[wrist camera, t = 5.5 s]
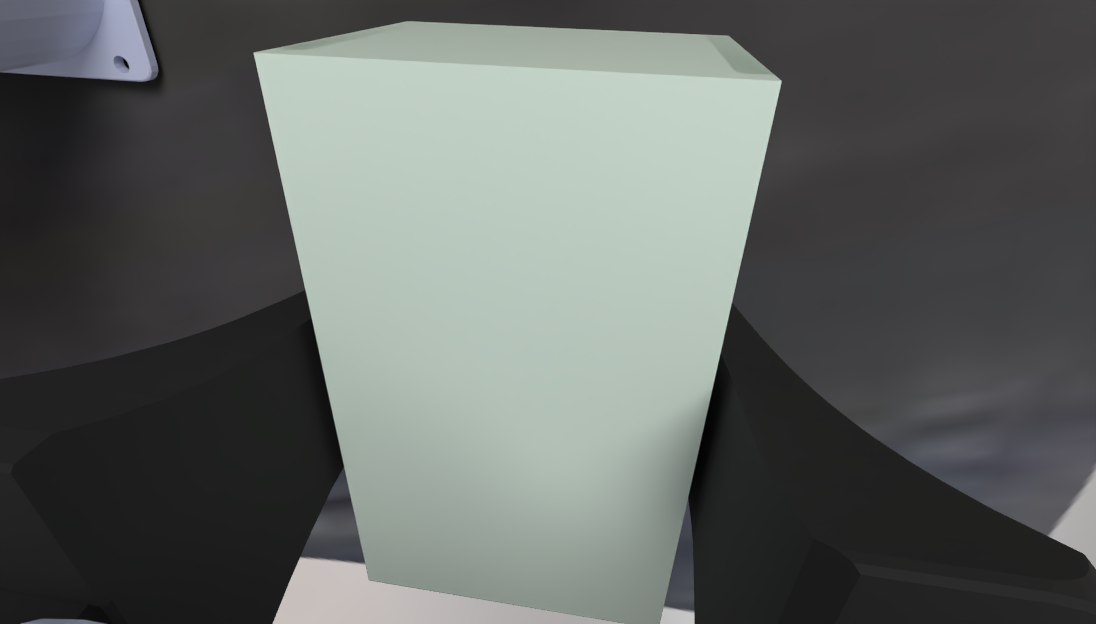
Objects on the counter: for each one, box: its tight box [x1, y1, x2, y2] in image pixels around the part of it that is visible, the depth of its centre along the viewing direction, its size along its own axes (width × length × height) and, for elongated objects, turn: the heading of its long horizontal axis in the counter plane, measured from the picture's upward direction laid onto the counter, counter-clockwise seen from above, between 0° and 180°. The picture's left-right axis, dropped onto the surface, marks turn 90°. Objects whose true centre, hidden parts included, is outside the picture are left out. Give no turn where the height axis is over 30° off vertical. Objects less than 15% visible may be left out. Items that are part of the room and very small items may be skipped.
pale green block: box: [254, 21, 782, 624], centre depth 11 cm, size 6×10×5 cm, turn 179°
